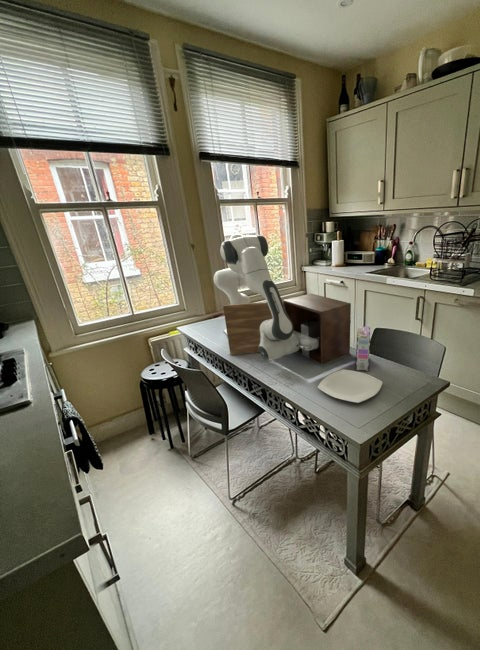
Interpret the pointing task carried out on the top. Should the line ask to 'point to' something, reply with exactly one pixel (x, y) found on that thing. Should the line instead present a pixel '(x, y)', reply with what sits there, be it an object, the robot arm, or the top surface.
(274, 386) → the top surface
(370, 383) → the plate
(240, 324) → the cupboard door
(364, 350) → the candy box
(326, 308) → the cupboard
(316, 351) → the grey box with handle
